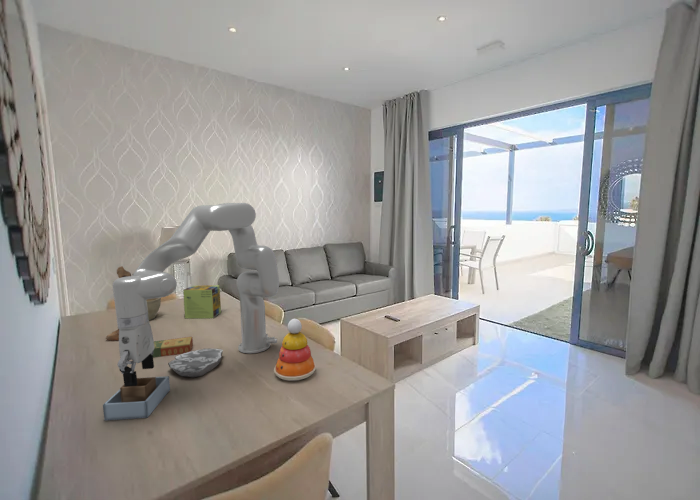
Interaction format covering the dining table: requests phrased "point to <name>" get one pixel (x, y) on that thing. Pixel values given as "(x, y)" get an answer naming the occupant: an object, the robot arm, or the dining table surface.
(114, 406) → the blue tray
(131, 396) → the walnut crate
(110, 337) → the bird sculpture
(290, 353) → the stacking toy
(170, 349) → the carton
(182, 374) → the brain slice
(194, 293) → the protein box
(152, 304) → the planter bowl
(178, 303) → the dining table surface
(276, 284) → the robot arm
